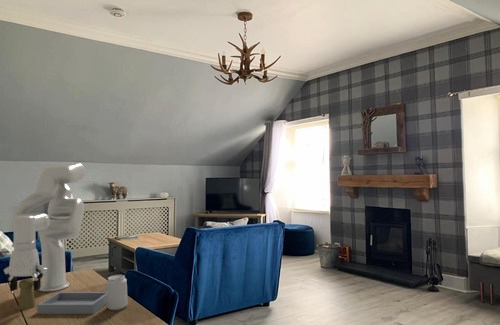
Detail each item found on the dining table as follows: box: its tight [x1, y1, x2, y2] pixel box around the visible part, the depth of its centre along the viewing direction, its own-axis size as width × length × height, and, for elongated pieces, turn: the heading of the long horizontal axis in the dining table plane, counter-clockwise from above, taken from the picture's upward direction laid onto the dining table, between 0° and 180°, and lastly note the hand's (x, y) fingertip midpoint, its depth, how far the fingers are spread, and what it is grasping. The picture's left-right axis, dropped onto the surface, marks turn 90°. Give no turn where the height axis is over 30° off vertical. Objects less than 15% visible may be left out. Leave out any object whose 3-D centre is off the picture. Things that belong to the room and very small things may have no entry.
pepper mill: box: [17, 278, 37, 311], centre depth 152 cm, size 6×6×11 cm
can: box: [105, 274, 128, 311], centre depth 148 cm, size 8×8×12 cm
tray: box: [36, 291, 107, 315], centre depth 150 cm, size 22×14×4 cm, turn 85°
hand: (25, 290), depth 151 cm, fingers open, 9 cm apart
